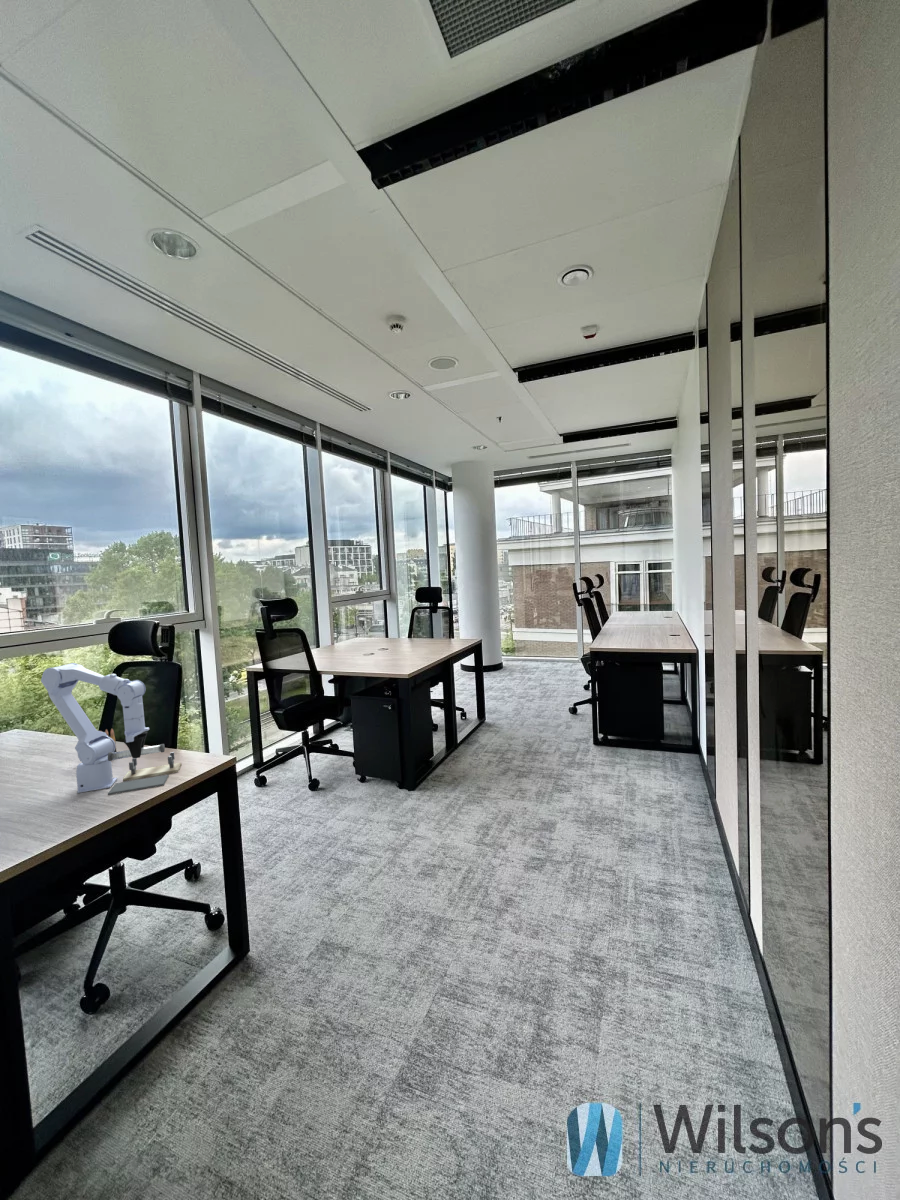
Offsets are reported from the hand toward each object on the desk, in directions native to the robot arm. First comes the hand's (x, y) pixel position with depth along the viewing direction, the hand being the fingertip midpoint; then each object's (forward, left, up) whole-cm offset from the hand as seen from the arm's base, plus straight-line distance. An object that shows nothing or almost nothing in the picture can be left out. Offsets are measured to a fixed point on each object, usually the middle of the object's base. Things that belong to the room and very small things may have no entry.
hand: (137, 756), depth 161 cm
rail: (0, 0, 0) cm, 0 cm away
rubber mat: (0, 0, -10) cm, 10 cm away
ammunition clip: (-21, +34, -10) cm, 41 cm away
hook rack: (+2, +10, -10) cm, 14 cm away
